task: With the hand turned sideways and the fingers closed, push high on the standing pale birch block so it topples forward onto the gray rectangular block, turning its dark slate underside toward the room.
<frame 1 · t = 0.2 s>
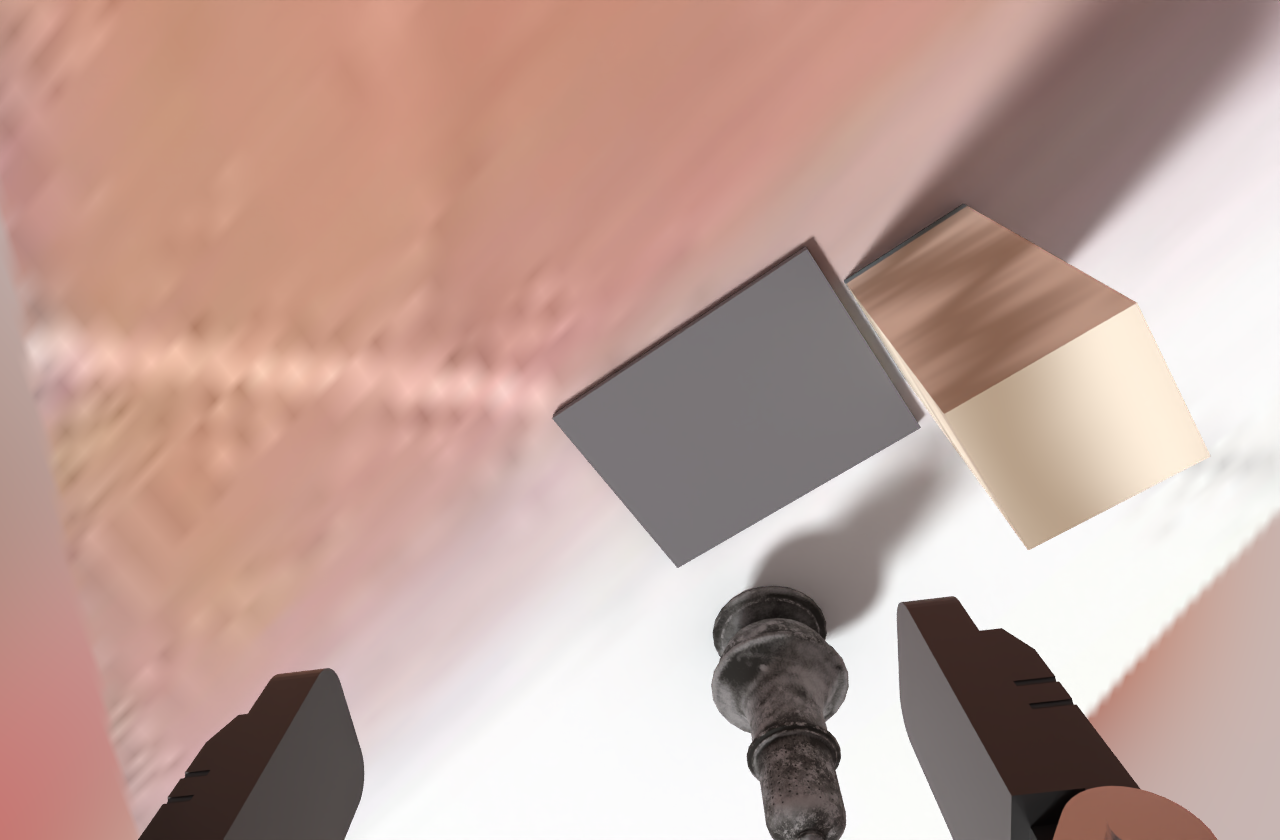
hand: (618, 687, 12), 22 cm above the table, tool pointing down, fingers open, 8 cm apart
birch block: (933, 295, 32), on the table
gray rectangular block: (735, 418, 34), on the table
salt shaker: (768, 629, 39), on the table
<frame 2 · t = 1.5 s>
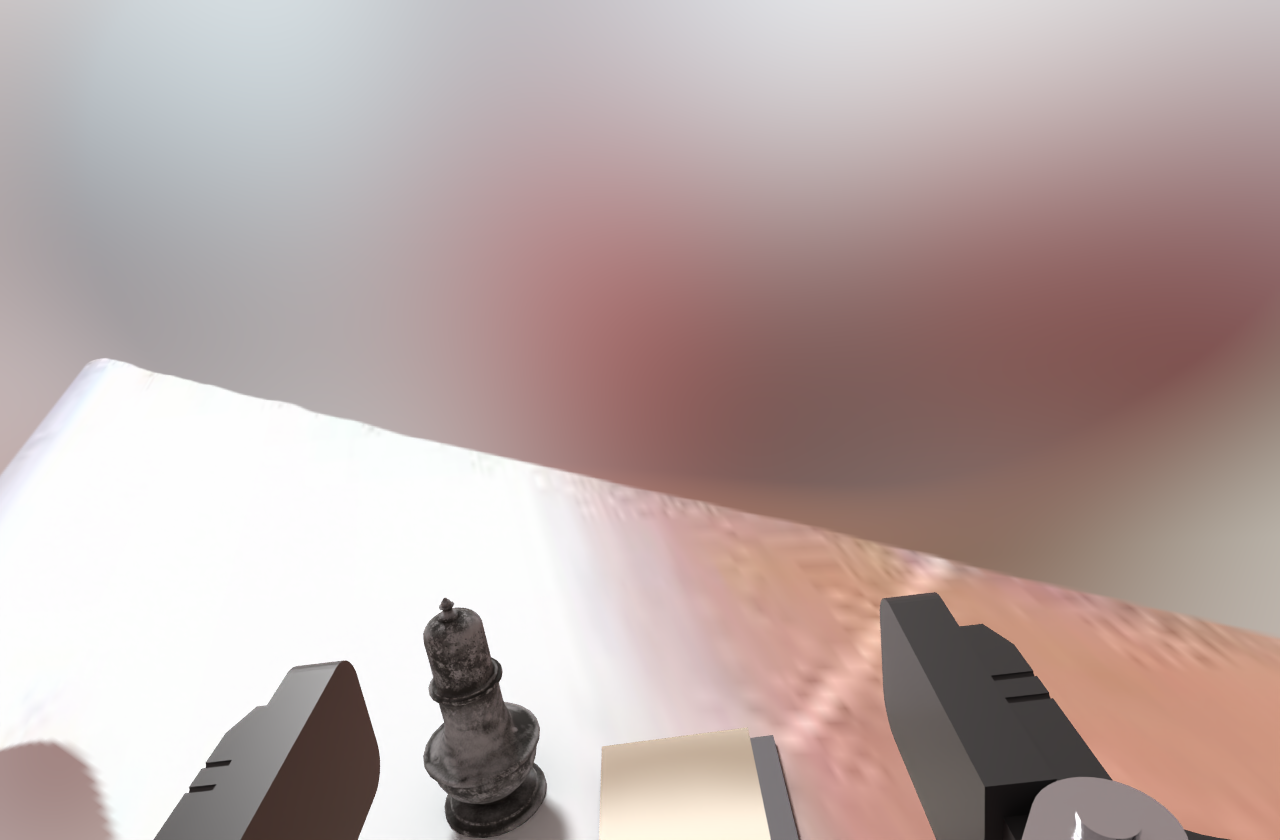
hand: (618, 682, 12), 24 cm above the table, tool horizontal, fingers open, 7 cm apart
salt shaker: (496, 798, 43), on the table
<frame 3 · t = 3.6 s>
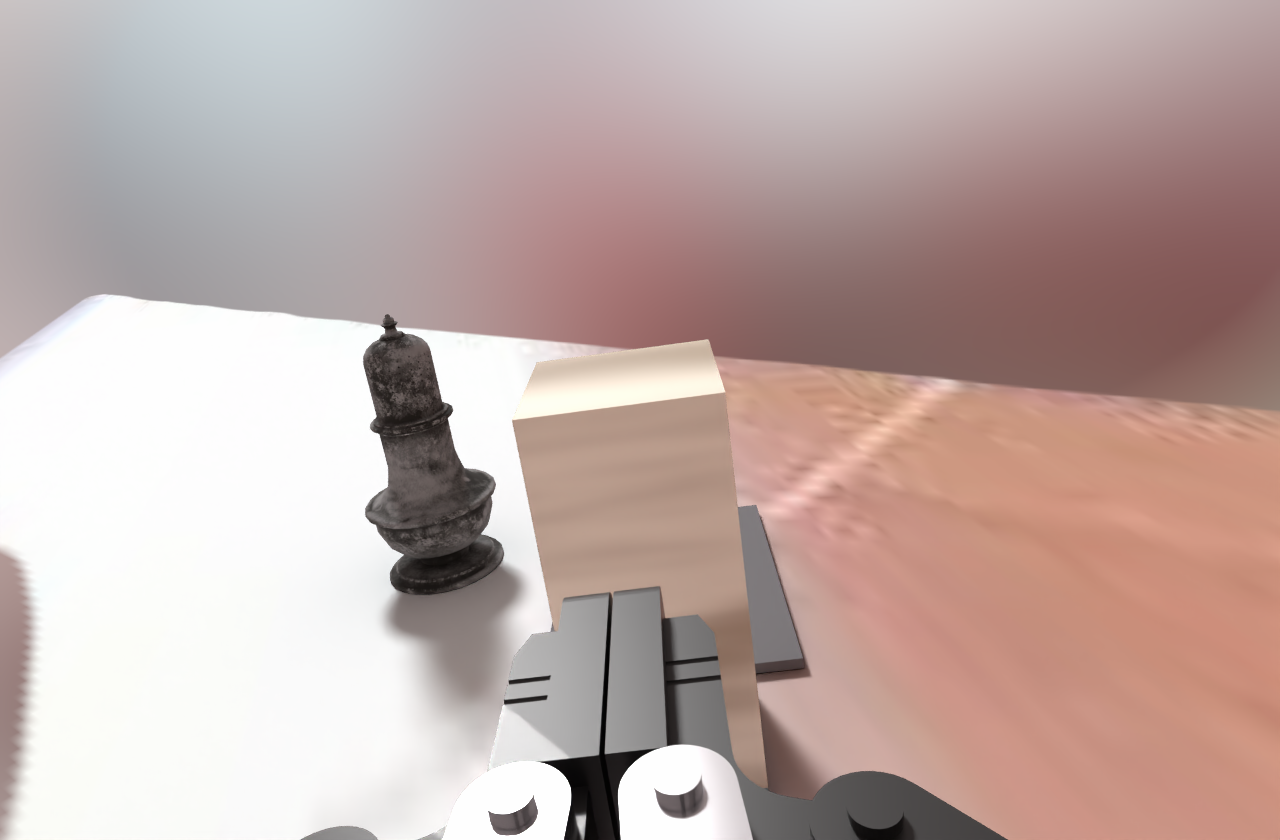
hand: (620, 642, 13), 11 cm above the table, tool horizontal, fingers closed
birch block: (676, 745, 26), on the table
gray rectangular block: (667, 590, 34), on the table
salt shaker: (448, 567, 39), on the table
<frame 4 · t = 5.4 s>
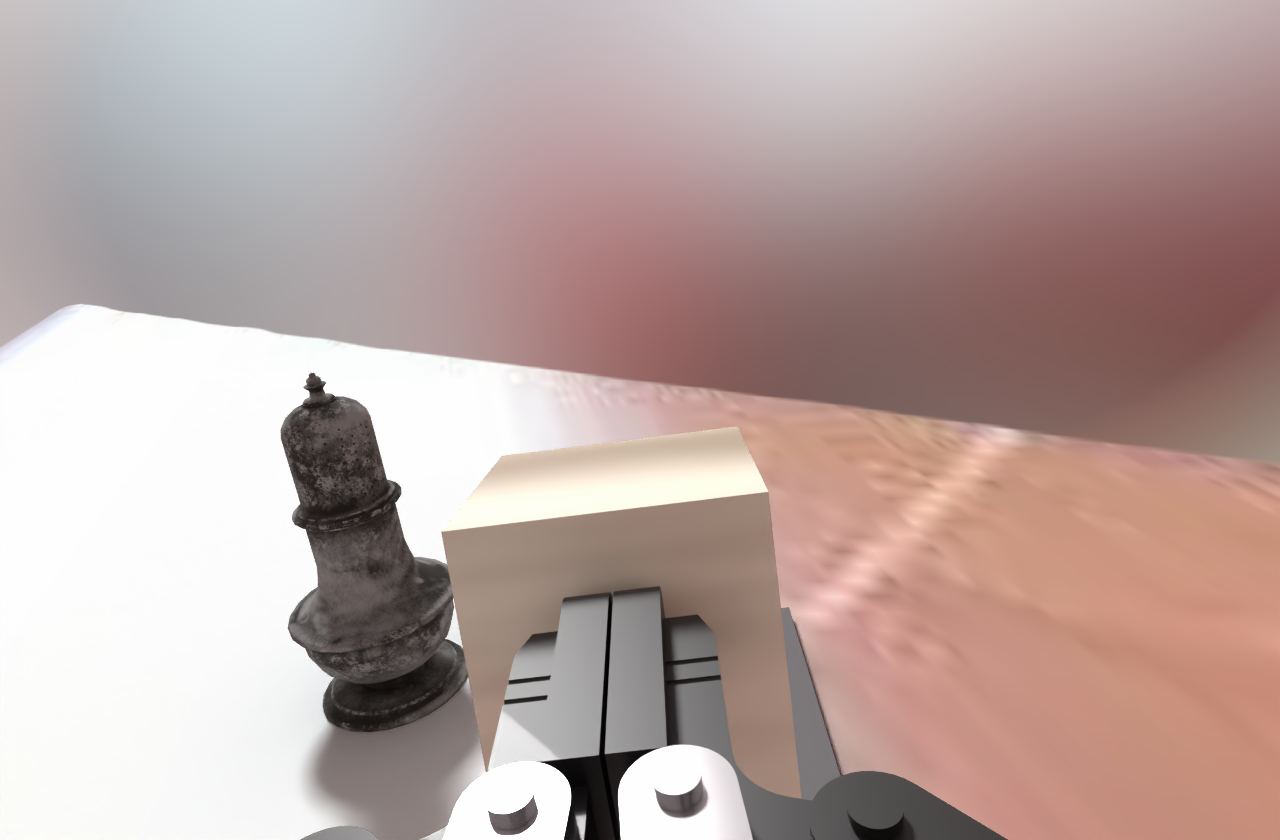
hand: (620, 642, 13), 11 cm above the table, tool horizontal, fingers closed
gray rectangular block: (677, 740, 26), on the table
salt shaker: (398, 686, 31), on the table
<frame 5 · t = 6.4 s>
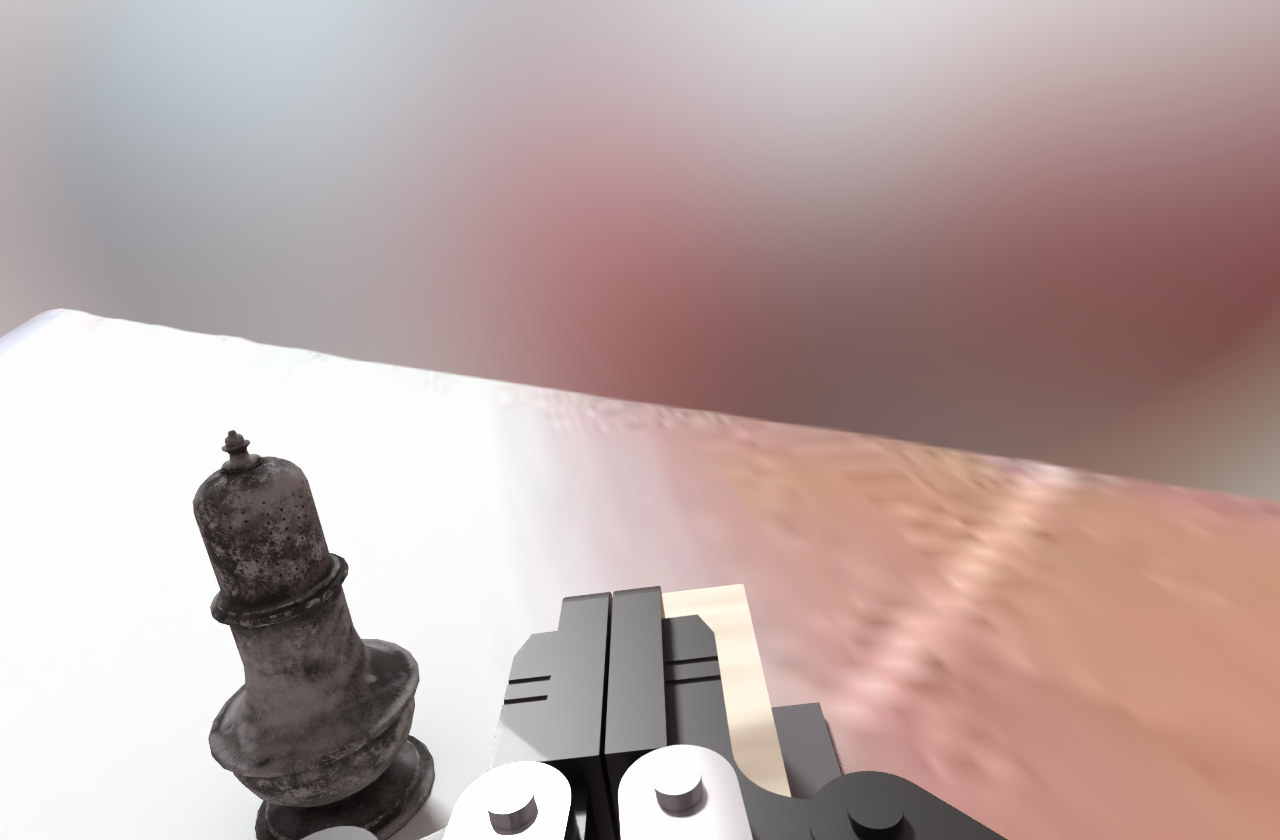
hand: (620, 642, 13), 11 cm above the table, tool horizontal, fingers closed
salt shaker: (349, 799, 26), on the table
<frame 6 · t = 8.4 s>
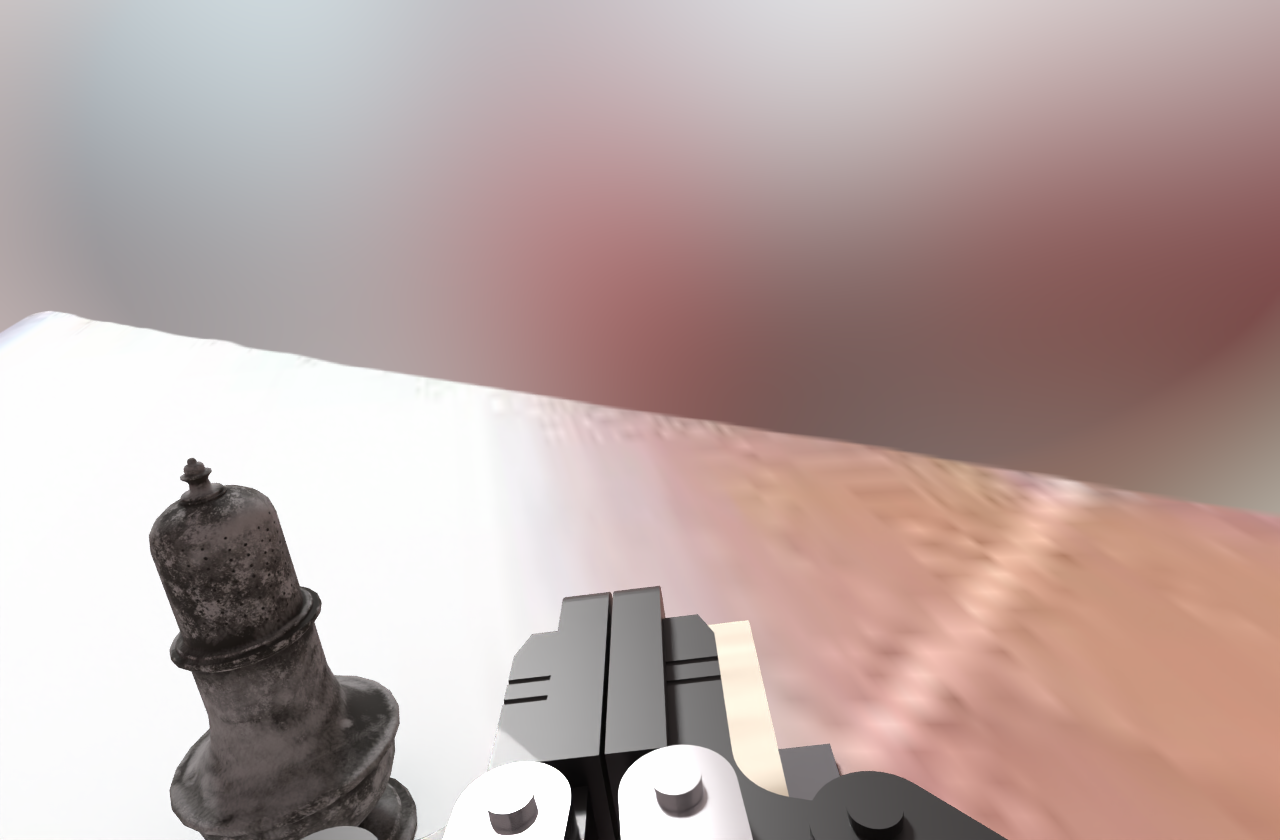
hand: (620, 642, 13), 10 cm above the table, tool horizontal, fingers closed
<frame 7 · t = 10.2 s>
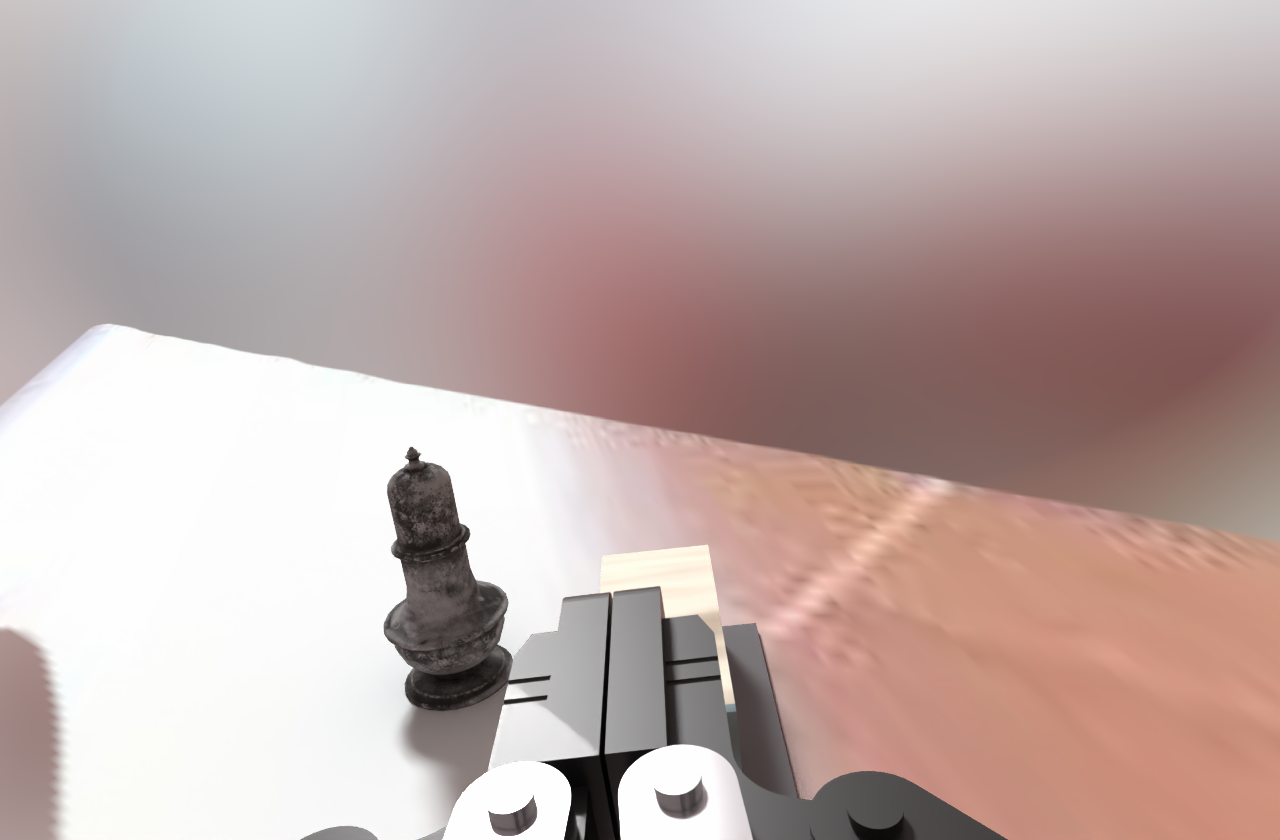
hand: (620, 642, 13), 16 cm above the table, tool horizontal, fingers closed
birch block: (669, 778, 29), point 3 cm above the table, tilted 90°, touching gray rectangular block
gray rectangular block: (670, 718, 36), on the table
salt shaker: (460, 678, 41), on the table
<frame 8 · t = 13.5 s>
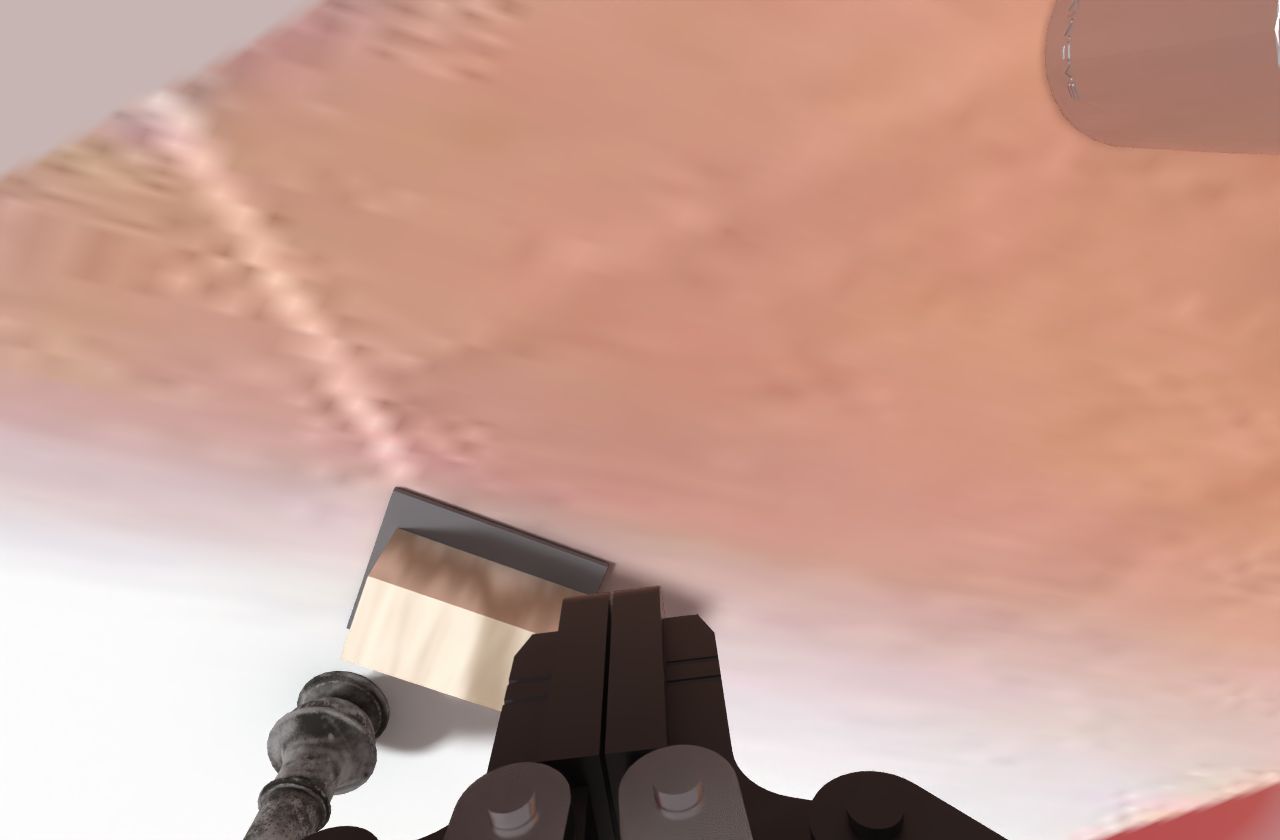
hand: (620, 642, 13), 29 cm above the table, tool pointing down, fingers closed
birch block: (589, 665, 44), point 3 cm above the table, tilted 90°, touching gray rectangular block
gray rectangular block: (476, 594, 46), on the table
salt shaker: (344, 707, 49), on the table
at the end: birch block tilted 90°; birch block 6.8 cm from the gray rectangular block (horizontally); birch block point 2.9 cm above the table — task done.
